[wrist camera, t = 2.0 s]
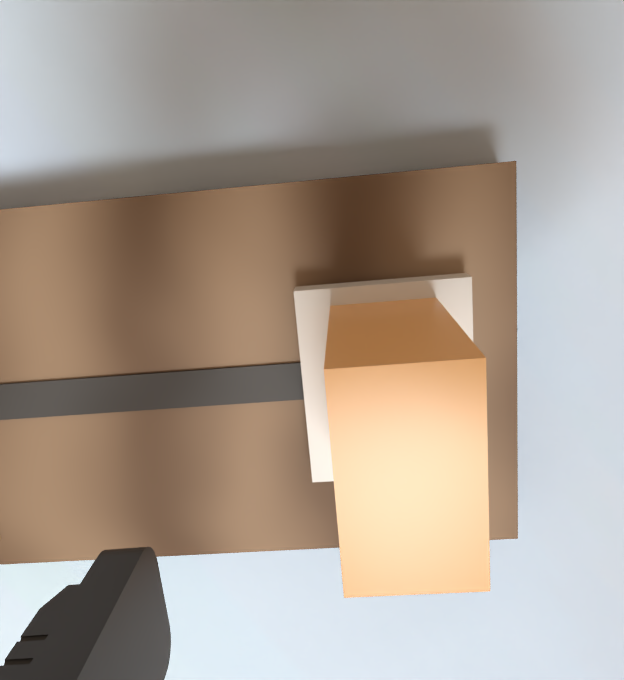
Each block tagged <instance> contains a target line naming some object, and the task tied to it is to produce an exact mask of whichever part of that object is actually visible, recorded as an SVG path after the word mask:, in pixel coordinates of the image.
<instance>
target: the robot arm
mask: <svg viewBox="0 0 624 680" xmlns="http://www.w3.org/2000/svg"><path fill="white" fill-rule="evenodd" d="M170 648H171V634H170V626H169V620H168V615H167V610H166V604H165V599H164V594H163V589H162V583H161V578H160V573H159V568H158V562H157V558H156V555H155V552H154V550H153V549H152V548H151V547H137V548H123V549H109V550H103V551H102V552H101V553H100V554H99V555H98V557H97V558H96V560H95V561H94V563H93V565H92V566H91V568H90V569H89V571H88V572H87V574H86V576H85V577H84V579H83V580H82V582H81V584H78V585H68V586H67V587H66V588H64V589H63V590H62V591H61V592H59V593H58V594H57V595H56V596H55V597H53V598H52V599H51V600H50V601H49V602H47V603H46V604H45V605H44V606H43V607H41V608H40V609H39V611H38V612H37V614H36V615H35V617H34V618H33V619H32V621H31V622H30V624H29V625H28V627H27V628H26V630H25V631H24V633H23V634H22V635H21V641H20V642H17V643H16V644H15V646H14V647H13V649H12V650H11V651H10V653H9V654H8V656H7V657H6V659H5V664H4V666H0V680H164V678H165V675H166V672H167V669H168V664H169V658H170Z"/></svg>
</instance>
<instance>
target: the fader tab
mask: <svg viewBox="0 0 624 680" xmlns="http://www.w3.org/2000/svg"><path fill="white" fill-rule="evenodd" d="M294 301H295V312H296V322H297V332H298V342H299V352H300V362H301V372H302V382H303V392H304V402H305V413H306V423H307V433H308V443H309V453H310V463H311V473H312V482H328V481H334V491H335V502H336V513H337V524H338V535H339V547H340V558H341V569H342V580H343V592H344V598H348V597H371V596H394V595H416V594H439V593H462V592H484V591H490V551H489V494H488V436H487V379H486V357H485V356H484V355H483V353H482V352H481V351H480V350H479V349H478V347H477V346H476V345H475V344H474V343H473V304H472V277H471V276H470V275H468V274H467V273H457V274H445V275H433V276H420V277H408V278H396V279H383V280H371V281H359V282H347V283H334V284H322V285H310V286H297V287H295V289H294Z"/></svg>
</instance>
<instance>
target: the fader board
mask: <svg viewBox="0 0 624 680" xmlns="http://www.w3.org/2000/svg"><path fill="white" fill-rule="evenodd" d="M457 273H467V274H468V275H470V276H471V277H472V304H473V343H474V344H475V345H476V346H477V347H478V349H479V350H480V351H481V352H482V353H483V355H484V356H485V357H486V379H487V436H488V494H489V540H497V539H517V538H518V487H517V234H516V161H511V162H501V163H490V164H479V165H469V166H458V167H447V168H437V169H426V170H415V171H405V172H394V173H383V174H373V175H362V176H351V177H341V178H330V179H319V180H309V181H298V182H287V183H277V184H266V185H255V186H245V187H234V188H223V189H213V190H202V191H191V192H181V193H170V194H160V195H149V196H138V197H128V198H117V199H106V200H96V201H85V202H74V203H64V204H53V205H42V206H32V207H21V208H10V209H0V564H18V563H38V562H58V561H78V560H96V558H97V557H98V555H99V554H100V553H101V552H102V551H103V550H109V549H123V548H137V547H151V548H152V549H153V550H154V552H155V555H156V557H158V556H178V555H198V554H218V553H238V552H257V551H277V550H297V549H317V548H337V547H339V535H338V524H337V513H336V502H335V491H334V481H328V482H312V473H311V463H310V453H309V443H308V433H307V423H306V413H305V402H304V392H303V382H302V372H301V362H300V352H299V342H298V332H297V322H296V312H295V301H294V289H295V287H297V286H310V285H322V284H334V283H347V282H359V281H371V280H383V279H396V278H408V277H420V276H433V275H445V274H457Z"/></svg>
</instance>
